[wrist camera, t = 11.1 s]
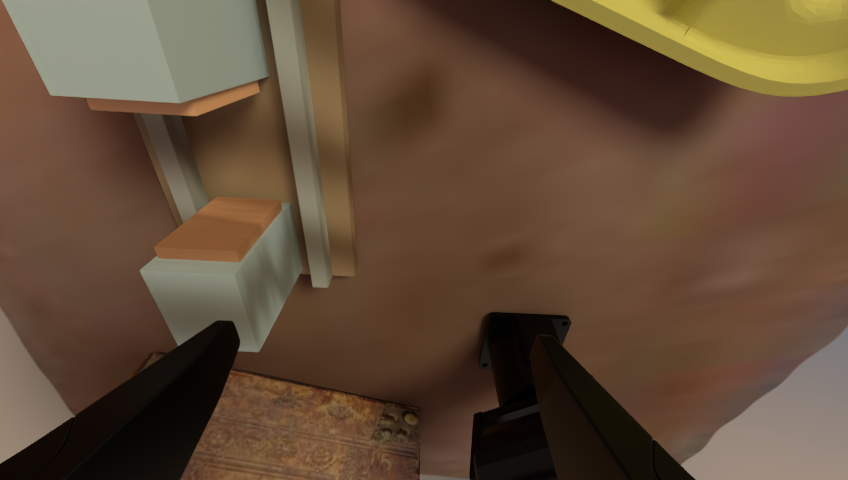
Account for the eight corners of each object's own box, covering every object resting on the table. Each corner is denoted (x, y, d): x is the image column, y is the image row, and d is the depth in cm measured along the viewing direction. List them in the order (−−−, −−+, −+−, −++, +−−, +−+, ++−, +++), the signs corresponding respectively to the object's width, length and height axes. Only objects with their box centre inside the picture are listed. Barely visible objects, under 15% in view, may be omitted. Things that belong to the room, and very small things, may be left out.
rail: (357, 266, 24) (329, 361, 17) (204, 258, 24) (113, 352, 17) (335, -64, 14) (251, -148, 8) (78, -82, 14) (-251, -185, 7)
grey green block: (271, 89, 17) (186, 122, 11) (190, 84, 17) (60, 115, 11) (245, -58, 14) (107, -123, 8) (147, -65, 14) (-67, -136, 8)
